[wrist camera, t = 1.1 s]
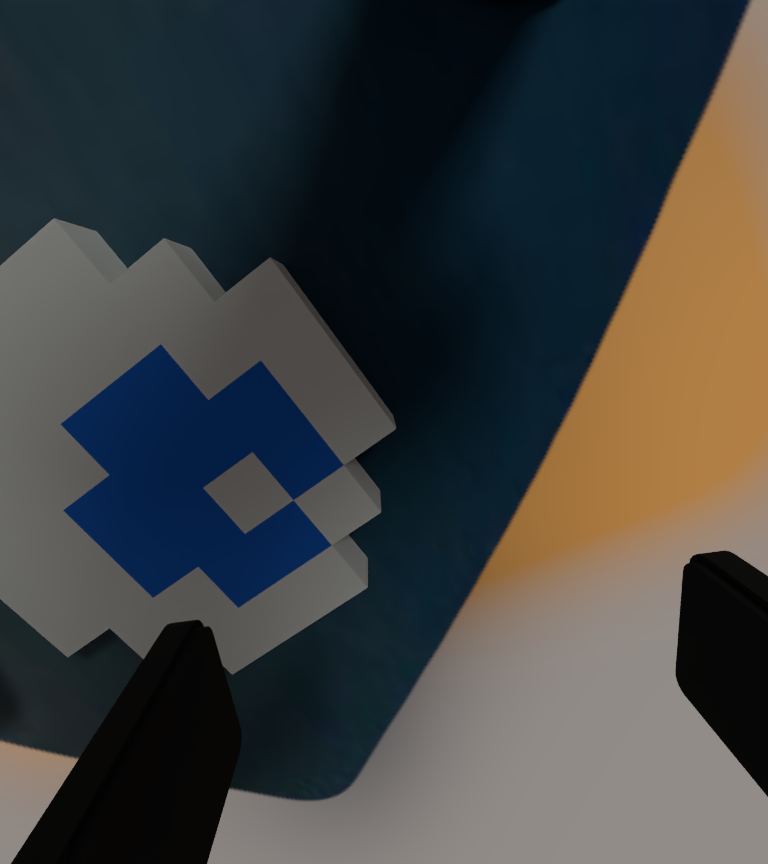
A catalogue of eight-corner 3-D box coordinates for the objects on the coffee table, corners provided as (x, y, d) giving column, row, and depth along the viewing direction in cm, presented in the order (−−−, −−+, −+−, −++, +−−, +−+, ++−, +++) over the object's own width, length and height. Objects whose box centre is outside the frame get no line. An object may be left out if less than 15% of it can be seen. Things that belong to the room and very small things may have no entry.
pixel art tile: (167, 117, 21) (466, 524, 28) (198, 147, 25) (454, 498, 32) (-190, 433, 25) (149, 728, 32) (-116, 417, 29) (173, 683, 36)
